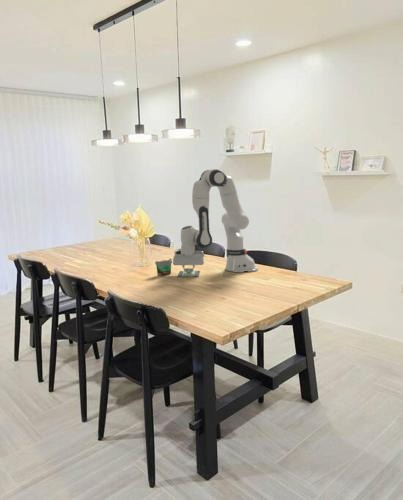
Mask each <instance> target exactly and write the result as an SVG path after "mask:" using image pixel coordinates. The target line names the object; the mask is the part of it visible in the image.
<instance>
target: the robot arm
mask: <svg viewBox="0 0 403 500" xmlns="http://www.w3.org/2000/svg"><path fill="white" fill-rule="evenodd" d="M212 187H216V188H218V191H219V196H220V200H221V204H222V207H223V208H224V209H225V213H224V214H223V215H222V216H221V223H222V225H223V227H224V231H225V235H226V264H225V268H224V269H226V271H228V272H232V273H243V272H244V271H248V272H256V270H257V271H258V270H259V267H258V266H257V265H256V263H255V260H254V258H252V257H251V256H250V255H248V254H247V253H248V251H247V249H246V248H244V236H243V234H242V233H241V232H242V230H245V229H246V228H248V226H249V223H250V220H249V217H248V216H247V215H246V213H245V212H244V210H243V208H242V206H241V204H240V203H241V202H240V200H239V196H238V193H237V188H236V185H235V182H234V180H233V177H231V176H229V175H226V174H225V172H224V171H222V170H221V169H217V168H210V169H206V170H204V171H203V172H202V173H201V175H200V178H199V180H196V181H195V182H194V183H193V186H192V194H191V197H192V198H191V199H192V208H193V209H194V212H195V213H196V215H197V217H198V218H197V219H198V228H196V227H194V226H193V225H188V226H186V225H185V226H184V227H182V228H181V230H180V241H181V246H180V248H178V249H176V250H174V255H173V256H172V257H173V258H172V265H173V266H181V267H182V268H183V271H184V272H186V267H185V266H192V268H191V272H193V271H194V270H195V267H196V266H203V265H204V263H205V260H204V259H205V258H204V257H205V253H204V251H202V250H196V247H195V245H197V246H198V247H199V248H201V249H207V248H209V247H210V246H211V245H212V244H213V237H212V235H211V231H210V218H209V214H210V212H209V211H210V191H211V189H212Z"/></svg>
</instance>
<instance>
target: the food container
mask: <svg viewBox="0 0 403 500" xmlns="http://www.w3.org/2000/svg"><path fill="white" fill-rule="evenodd" d="M172 264H173V259H172V258H169V259H168V260H166V259H165V260H161V261H157V260H156V261H155V266H156V267H155V268H156V274H157V276H159V277H160V276H163V277H164V276H165V277H166V276H169V275H171V274H172Z"/></svg>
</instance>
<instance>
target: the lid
mask: <svg viewBox="0 0 403 500" xmlns="http://www.w3.org/2000/svg"><path fill="white" fill-rule="evenodd" d="M185 269H186V272H184V270H182V271H183V274H182V276H194V275H195V272H196V271H197V270H196V269H193V270H194V271H193V272H191V269H192V268H191V267H187V268H186V267H185Z"/></svg>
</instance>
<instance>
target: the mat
mask: <svg viewBox="0 0 403 500" xmlns="http://www.w3.org/2000/svg"><path fill="white" fill-rule="evenodd" d="M183 271H184V270H179V272H178V274H177V276H176V278H180V279H182V278H199V277H200V274H201V270H196V272H195V275H194V276H182V274H183Z"/></svg>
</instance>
